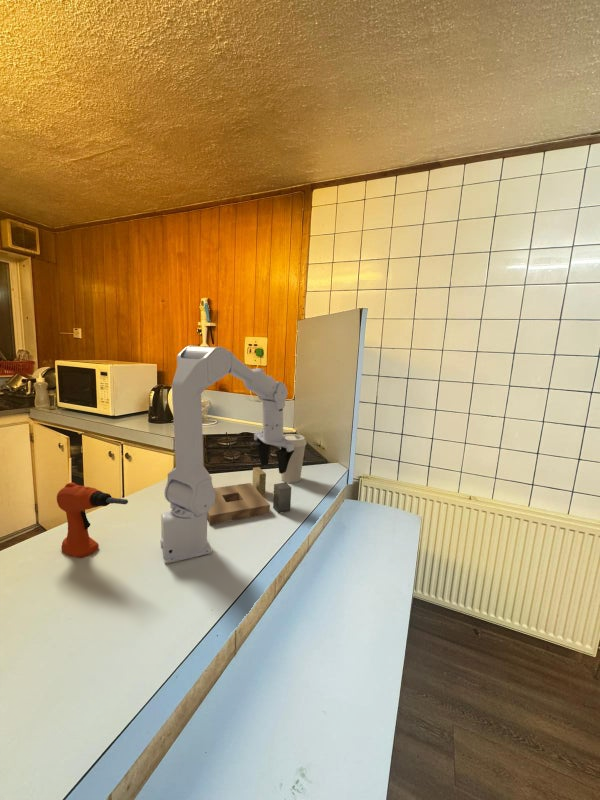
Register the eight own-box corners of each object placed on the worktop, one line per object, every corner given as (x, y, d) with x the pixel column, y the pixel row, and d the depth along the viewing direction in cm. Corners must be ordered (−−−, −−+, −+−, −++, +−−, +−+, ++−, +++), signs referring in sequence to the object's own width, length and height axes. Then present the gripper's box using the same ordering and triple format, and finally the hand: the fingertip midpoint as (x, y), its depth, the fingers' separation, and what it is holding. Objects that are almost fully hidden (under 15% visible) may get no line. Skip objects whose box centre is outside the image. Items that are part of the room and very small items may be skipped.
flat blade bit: (258, 496, 100) (259, 474, 99) (252, 488, 105) (252, 467, 104) (265, 495, 101) (265, 473, 100) (258, 488, 106) (259, 467, 105)
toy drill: (124, 568, 63) (114, 492, 61) (56, 555, 69) (45, 485, 68) (144, 554, 67) (135, 482, 66) (78, 543, 74) (69, 477, 72)
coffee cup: (302, 486, 109) (304, 441, 107) (274, 482, 111) (276, 439, 108) (306, 475, 118) (308, 434, 116) (280, 472, 120) (282, 432, 118)
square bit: (278, 513, 90) (279, 489, 89) (273, 507, 93) (274, 484, 92) (290, 511, 92) (291, 487, 91) (284, 505, 95) (285, 482, 94)
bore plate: (209, 525, 82) (209, 515, 82) (197, 498, 96) (197, 490, 96) (269, 513, 90) (269, 504, 89) (250, 490, 104) (250, 482, 103)
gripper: (301, 425, 91) (301, 471, 94) (266, 415, 101) (267, 458, 104) (283, 431, 86) (283, 479, 89) (248, 420, 96) (249, 464, 98)
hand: (273, 468), depth 96 cm, fingers open, 7 cm apart
